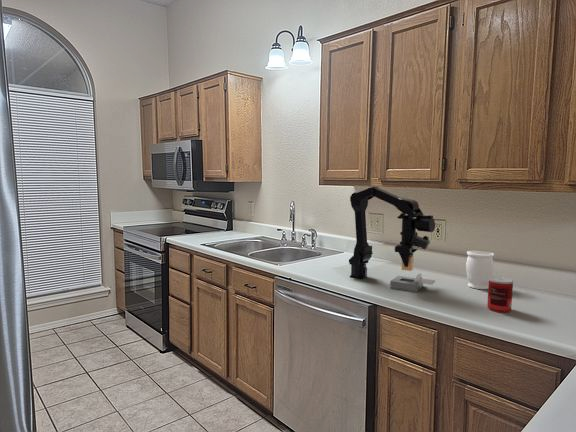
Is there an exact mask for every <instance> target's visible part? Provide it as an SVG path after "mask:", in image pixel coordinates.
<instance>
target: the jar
mask: <svg viewBox="0 0 576 432" xmlns="http://www.w3.org/2000/svg"><path fill="white" fill-rule="evenodd" d="M466 255H467V259H466V262H465V263H466V264H465V268H466V269H465V270H466V277H467V280H468V283H467V286H468V287H469V288H472V289H477V290H488V283H489V278H490V277H493V276H492V275H493V271H494V259H493V258H494V256H495V253H493V252H490V251H484V250H467V251H466Z"/></svg>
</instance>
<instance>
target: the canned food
mask: <svg viewBox="0 0 576 432" xmlns="http://www.w3.org/2000/svg"><path fill="white" fill-rule="evenodd" d="M513 287H514V281H513V280H512V279H511V278H508V277H502V276H492V277H490V278H489V283H488V289H487V303H486V305H487V308H488V309H489V310H490V311H492V312H496V313H505V314H507V313H510V312H511V310H512V305H513V304H512V303H513V302H512V301H513V290H514V289H513Z"/></svg>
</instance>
